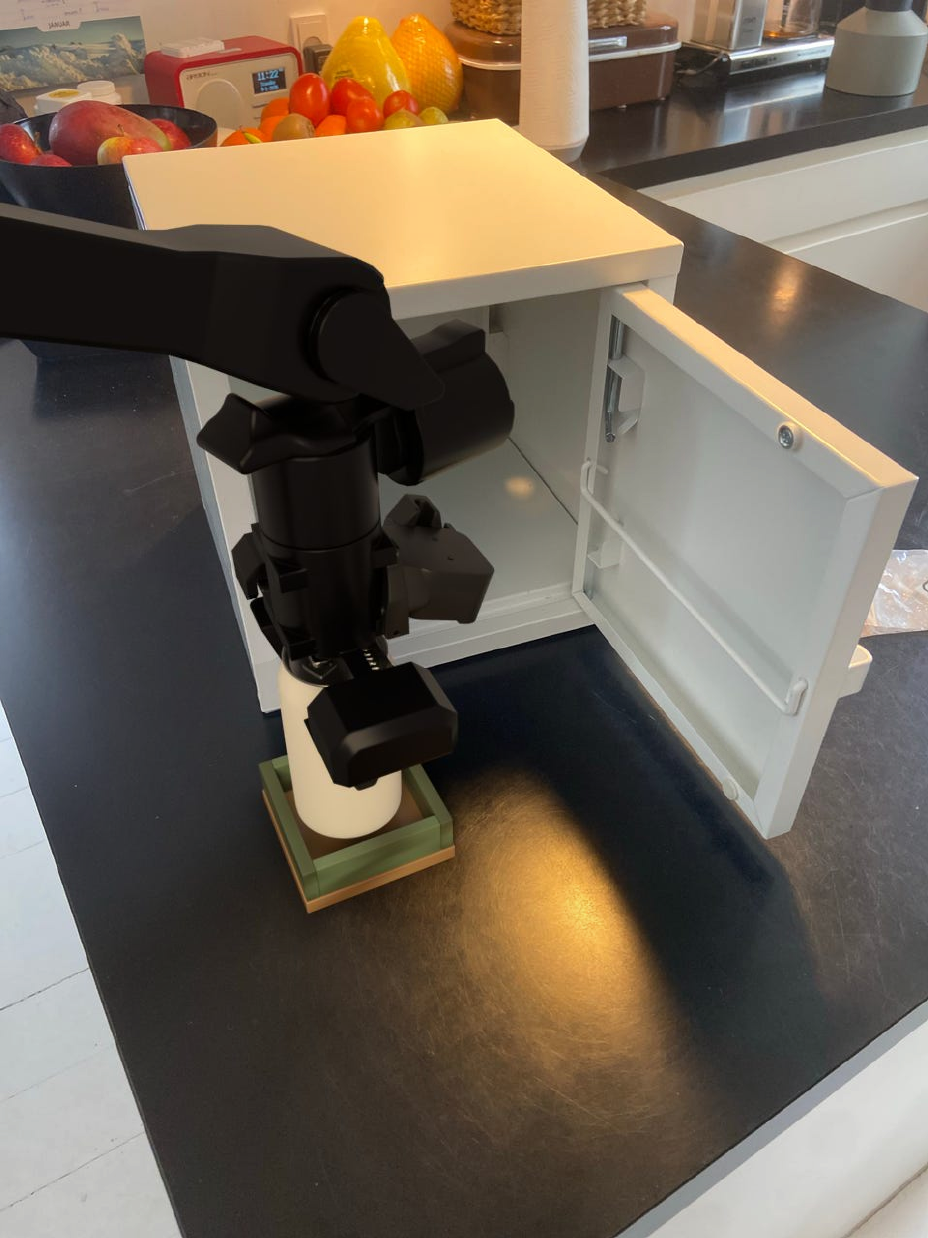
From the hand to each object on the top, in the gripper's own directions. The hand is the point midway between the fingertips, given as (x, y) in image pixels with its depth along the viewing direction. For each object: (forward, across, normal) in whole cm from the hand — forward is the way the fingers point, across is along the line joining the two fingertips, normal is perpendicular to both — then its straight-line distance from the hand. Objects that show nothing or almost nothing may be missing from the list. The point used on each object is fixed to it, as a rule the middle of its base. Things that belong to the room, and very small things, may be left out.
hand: (345, 746), depth 53 cm
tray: (+7, 0, 0) cm, 7 cm away
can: (+5, 0, 0) cm, 5 cm away
